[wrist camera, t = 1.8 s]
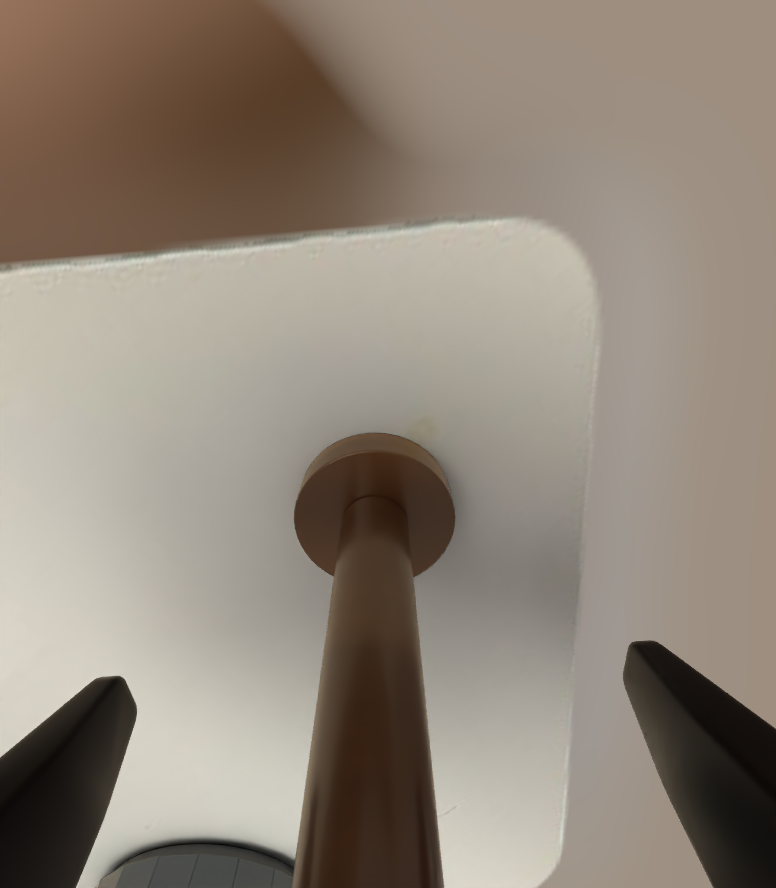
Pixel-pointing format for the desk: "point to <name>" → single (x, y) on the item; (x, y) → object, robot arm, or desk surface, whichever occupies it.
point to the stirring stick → (371, 666)
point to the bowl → (200, 869)
